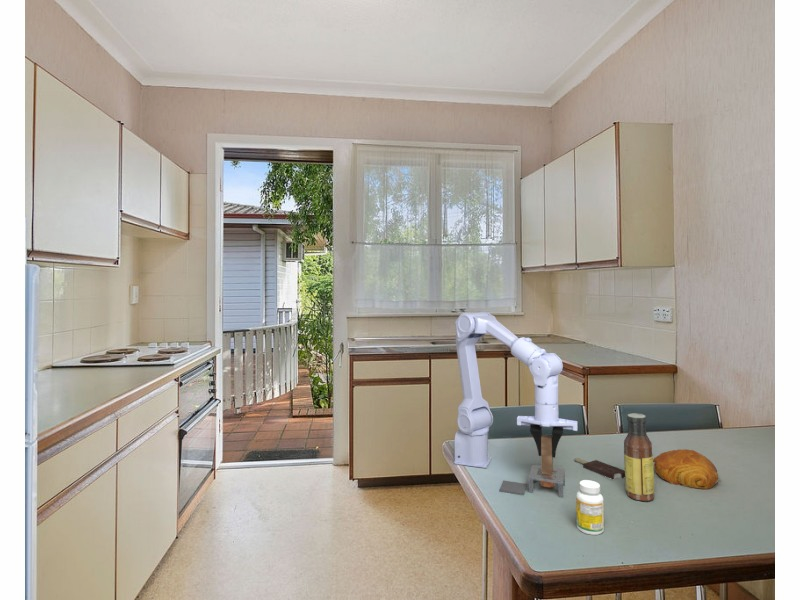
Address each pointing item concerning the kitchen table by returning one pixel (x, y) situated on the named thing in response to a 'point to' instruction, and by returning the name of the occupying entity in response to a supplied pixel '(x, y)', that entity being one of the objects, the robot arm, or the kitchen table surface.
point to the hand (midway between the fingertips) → (547, 455)
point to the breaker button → (545, 483)
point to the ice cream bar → (602, 468)
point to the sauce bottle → (638, 460)
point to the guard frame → (547, 478)
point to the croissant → (686, 469)
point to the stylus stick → (546, 454)
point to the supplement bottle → (590, 508)
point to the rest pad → (513, 487)
